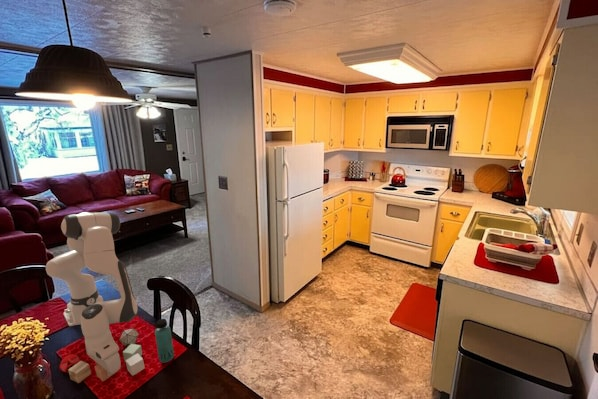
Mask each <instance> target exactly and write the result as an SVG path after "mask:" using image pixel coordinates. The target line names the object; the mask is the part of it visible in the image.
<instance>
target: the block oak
mask: <svg viewBox="0 0 598 399" xmlns="http://www.w3.org/2000/svg"><path fill="white" fill-rule="evenodd" d="M67 370H68V374H69V378H70V380H71V381H73V382H76V383H77V384H80V383H81V382H82V381H84V380H85V379H87V377H89V376H90V375H91V374H92V371H91V368H90V364H89V363H87V362H86V361H83V360H79V362H78V363H76V364H73V365H72V367H71V366H70V367H69V368H68V369H67Z"/></svg>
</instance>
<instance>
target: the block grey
mask: <svg viewBox="0 0 598 399" xmlns="http://www.w3.org/2000/svg"><path fill="white" fill-rule="evenodd" d="M125 364H126V370H127V371H128V372H129V374H130V375H131V377H133V376H134V375H137V374H138V373H140V372H141V371H143V370H144V369H146V368H145V363H144V359H143V357H142V355H141V356H140V355H139V354H138V353H137V354H136V355H134V356H132V357H130V358H129V359H127V360H126V361H125Z"/></svg>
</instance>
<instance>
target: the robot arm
mask: <svg viewBox="0 0 598 399" xmlns="http://www.w3.org/2000/svg"><path fill="white" fill-rule="evenodd" d="M120 228H121V219H120V216H119V215H118V214H117V213H114V212H90V211H82V212H79V213H77V214H76V213H72V214H68V215H65V216H64V217H63V219H62V222H61V225H60V229H61V231H62V234H63V236H65V237H66V238H67V240H66V245H67V246H68V248H69V249H70V250H69V251H66V252H64V253H61V254H59V255H56V256H55V257H53V258H52V259H50V260H48V261H47V262H46V265H45V271H46V274H47V276H49V277H50V278H53V279H56V280H61V281H63V282H65V284H66V285H67V287H68V290H69V294H70V298H69V300H70V301H69V302H68V303H67V304H66V306H67V308H66V309H64V312H63V313H62V314H63V316H64V319H65V321H66V323H67V325H68V326H69V327H74V326H79V325H80V328H81V331H82V335H83V336H84V344H85V351H86V354H87V356H88V357H89V358H90V359H91V360H93V361H94V362H95V363H96V365H98V364H99V365H100V366H102V367H103V368H104V369H105V370H107V371H106V374H107V375H108V376H110V375H112V374H113V373H115V372H116V373H117V372H118V371H119V370H120V369H121V367H122V365H121V356H120V354H119V350H120V347H119V345H118V344H117V343H116V342H115V340H114V337H113V336H112V332H111V329H110V325H112V324H118V323H128V322H131V321H132V320H133V319H134V318H135V317H136V316H137V314H138V304H137V301H136V298H135V296H134V292H133V289H132V285H131V281H130V276H129V274H128V271H127V270H128V269H127V268H126V265H125V263H124V262H123V261H122V260H119V259H118V257H117V255H116V251H115V242H114V238H113V235H115V234H117V233H118V231H119V230H120ZM86 268H87V269H89V270H90V271H91V272H94V273H95V274H101V275H104V276H105V275H106V276H110V277H112V278H114V279H115V280H116V283H117V286H118V290H119V293H120V294H119V295H120V298H118V299H117V298H116V299H112V300H105V301H104V298H103V296H102V295H100V292H99V289H98V288H97V285H96V282H95V277H94V276H93V275H91V274H89V273H82V270H83V269H86ZM116 373H115V374H116ZM113 375H114V374H113ZM113 375H112V376H113ZM110 377H111V376H110Z"/></svg>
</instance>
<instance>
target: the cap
mask: <svg viewBox="0 0 598 399" xmlns="http://www.w3.org/2000/svg"><path fill="white" fill-rule="evenodd" d="M78 362H80V357H79V356H78V354H69V355H66V356H65V357H64V358H63V359H62V360H61V361H60V364H59V370H61V372H63V373H69V371H68V370H69V368H71V366H74V365H75V364H77V363H78Z"/></svg>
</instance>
